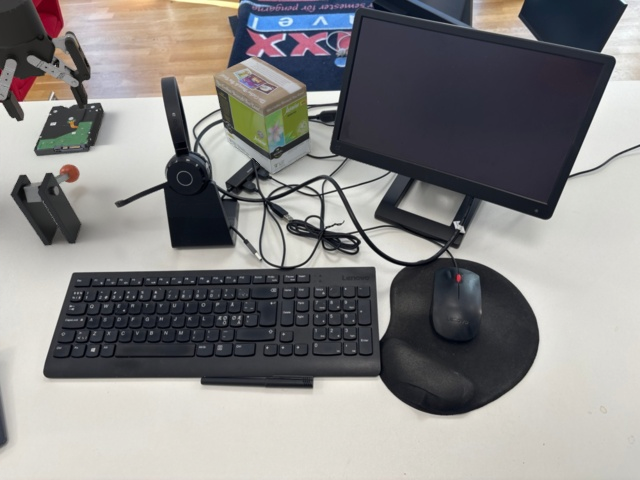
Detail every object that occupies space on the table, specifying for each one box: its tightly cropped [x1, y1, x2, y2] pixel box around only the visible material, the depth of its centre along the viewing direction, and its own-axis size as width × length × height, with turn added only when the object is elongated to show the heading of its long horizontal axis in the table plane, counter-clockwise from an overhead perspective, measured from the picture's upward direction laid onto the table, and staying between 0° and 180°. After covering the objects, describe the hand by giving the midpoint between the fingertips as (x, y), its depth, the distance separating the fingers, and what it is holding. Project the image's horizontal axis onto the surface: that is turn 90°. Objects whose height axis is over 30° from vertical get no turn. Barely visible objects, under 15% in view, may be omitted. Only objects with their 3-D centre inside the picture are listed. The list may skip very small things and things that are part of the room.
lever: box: [24, 163, 81, 202], centre depth 85 cm, size 15×3×3 cm, turn 4°
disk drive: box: [33, 102, 105, 157], centre depth 105 cm, size 10×3×15 cm
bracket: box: [10, 172, 82, 246], centre depth 82 cm, size 10×8×13 cm
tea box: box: [213, 55, 311, 175], centre depth 96 cm, size 15×10×15 cm, turn 42°
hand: (52, 112), depth 74 cm, fingers open, 8 cm apart
